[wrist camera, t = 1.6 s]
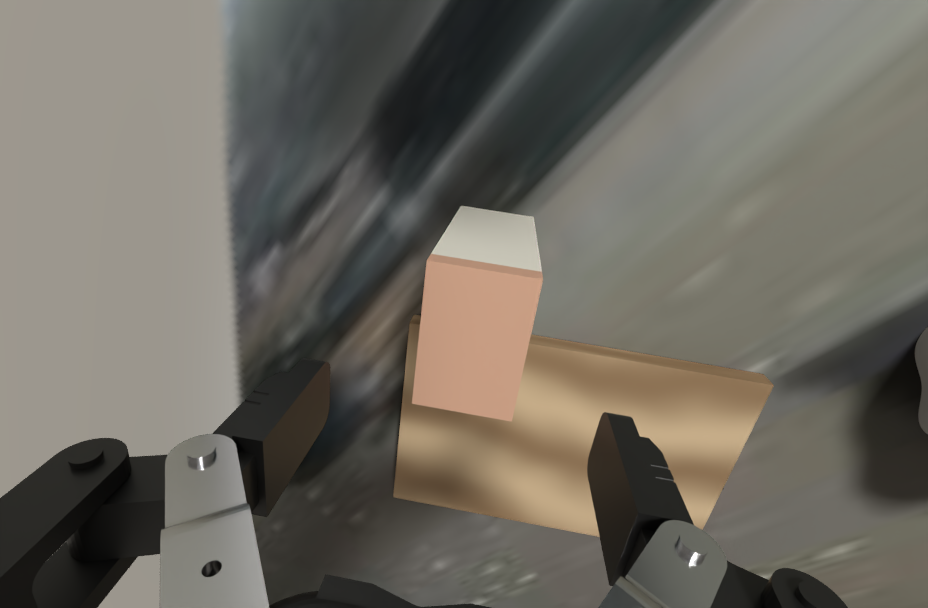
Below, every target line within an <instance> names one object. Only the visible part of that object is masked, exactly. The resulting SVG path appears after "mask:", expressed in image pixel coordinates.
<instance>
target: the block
mask: <svg viewBox="0 0 928 608" xmlns="http://www.w3.org/2000/svg"><path fill="white" fill-rule="evenodd" d="M542 282H543V276H542V269H541V263H540V256H539V250H538V243H537V236H536V230H535V223H534V217H530V216H523V215H517V214H511V213H504V212H498V211H492V210H485V209H479V208H472V207H466V206H461V207H460V208H459V210H458V211H457V213H456V215H455V216H454V218H453V219H452V221H451V223H450V224H449V226H448V227H447V229H446V231H445V232H444V234H443V235H442V237H441V239H440V240H439V242H438V243H437V245H436V247H435V248H434V250H433V251H432V253H431V255H430V256H429V258H428V259H427V263H426V273H425V282H424V292H423V302H422V311H421V321H420V330H419V340H418V349H417V359H416V368H415V378H414V388H413V397H412V404H417V405H422V406H428V407H433V408H439V409H444V410H450V411H455V412H461V413H466V414H472V415H478V416H483V417H489V418H494V419H500V420H505V421H511V422H512V419H513V414H514V409H515V405H516V400H517V396H518V391H519V387H520V382H521V378H522V373H523V368H524V364H525V359H526V355H527V350H528V346H529V341H530V337H531V332H532V328H533V323H534V318H535V314H536V309H537V305H538V300H539V296H540V291H541V287H542Z"/></svg>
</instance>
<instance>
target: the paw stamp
mask: <svg viewBox="0 0 928 608" xmlns="http://www.w3.org/2000/svg"><path fill="white" fill-rule="evenodd" d="M915 361H916V365H917V368H918V371H919V374H920V378H921V384H922V393H921V400H920V405H919V413H918V418H919V424H920V426H921V428H922V430H923V431H924V432H925V433H926V434H928V327H927V328H926V329H925V330H924V331H923V333H922V334H921V335H920V337H919V339H918V341H917V343H916V347H915Z"/></svg>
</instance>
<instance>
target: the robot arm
mask: <svg viewBox="0 0 928 608" xmlns="http://www.w3.org/2000/svg"><path fill="white" fill-rule="evenodd" d="M329 405H330V365H329V363H328V362H323V361H317V360H312V359H306V358H302V359H301V360H300V361H299V362H298V363H297V364H296V365H295V366H294V367H293V368H292V370H291V371H290V372H289V373H287V372H279V373H277V374H275V375H273V376H271V377H269V378H267V379H265V380H264V381H263V382H262V383H261V384H260V385H259V386H258V387H257V388H256V389H255V390H254V393H251V394H250V395H249V397H248V398H247V399H246V400H245V402H243V403H242V404H241V405H240V406H239V407H238V408H237V409H236V410H235V411H234V412H233V413H232V414H231V415H230V416H229V417H228V418H227V419H226V420H225V421H224V422H223V423H222V424H221V425H220V426H219V427H218V428H217V430H216V431H215V432H214V433H213V434H206V435H200V436H196V437H193V438H190V439H188V440H186V441H183V442H182V443H180V444H179V445H177V446H176V447H174V448H173V449H172V450H171V451H170V453H169V454H168V455H157V456H142V457H141V456H140V457H129V454H128V449H127V446H126V445H125V444H124V443H123V442H122V441H120V440H117V439H112V438H99V439H92V440H87V441H83V442H80V443H78V444H75V445H72V446H70V447H68V448H66V449H64V450H62V451H61V452H59V453H58V454H56V455H55V456H53V457H52V458H51V459H50V460H48V461H47V462H46V463H45V464H43V465H42V466H41V467H39V468H38V469H37V470H36V471H35V472H33V473H32V474H31V475H29V476H28V477H27V478H25V479H24V480H23V481H22V482H20V483H19V484H18V485H17V486H15V487H14V488H13V489H11V490H10V491H9V492H8V493H6V494H5V495H4V496H2V497H1V498H0V608H97V607H98V606H99V604H100V603H101V602H102V601H103V599H104V598H105V597H106V596H107V595H108V593H109V592H110V591H111V590H112V588H113V587H114V586H115V585H116V583H117V582H118V581H119V579H120V578H121V577H122V576H123V574H124V573H125V572H126V571H127V569H128V568H129V567H130V566H131V564H132V563H133V562H134V560H135V559H136V558H137V557H138V556H144V555H154V554H160V608H490V607H485V606H480V605H475V604H460V605H445V606H431V607H419V606H416V605H413V604H411V603H409V602H407V601H405V600H403V599H401V598H400V597H398V596H396V595H394V594H392V593H390V592H388V591H386V590H384V589H382V588H380V587H378V586H376V585H374V584H370V583H365V582H360V581H355V580H351V579H346V578H341V577H336V576H331V575H325V577H324V580H323V582H322V585H321V587H320V589H319V591H315V592H308V593H302V594H298V595H295V596H292V597H288V598H286V599H283V600H281V601H279V602H276V603H274V604H272V605H270V606H269V603H268V598H267V593H266V588H265V583H264V577H263V572H262V567H261V562H260V557H259V551H258V546H257V541H256V536H255V530H254V525H253V520H252V515H251V514H254V515H259V516H264V517H267V516H268V515H269V513H270V511H271V510H272V508H273V507H274V505H275V504H276V502H277V500H278V499H279V497H280V496H281V494H282V492H283V491H284V489H285V488H286V486H287V484H288V483H289V481H290V480H291V478H292V477H293V475H294V473H295V472H296V470H297V469H298V467H299V465H300V464H301V462H302V461H303V459H304V457H305V456H306V454H307V453H308V451H309V450H310V448H311V446H312V445H313V443H314V442H315V440H316V438H317V437H318V435H319V434H320V432H321V430H322V429H323V427H324V425H325V423H326V420H327V417H328V413H329ZM587 475H588V481H589V486H590V491H591V496H592V501H593V506H594V511H595V516H596V521H597V526H598V531H599V536H600V541H601V546H602V551H603V556H604V561H605V566H606V571H607V576H608V581H609V585H610V586H613V587H612V589H611V590H610V592H609V593H608V594H607V596H606V597H605V599H604V600H603V602H602V603H601V605H600V606H599V607H598V608H848V607H847V606H846V605H845V603H844V602H843V601H842V600H841V599H840V598H839V597H838V596H837V595H836V594H835V593H834V592H833V591H832V590H831V589H830V588H828V587H827V586H826V585H824V584H823V583H822V582H820V581H819V580H817V579H815V578H814V577H812V576H810V575H808V574H806V573H804V572H801V571H798V570H795V569H790V568H782V569H778V570H776V571H775V572H774V573H773V575H772V576H771V578H770V580H767V579H765V578H763V577H760V576H758V575H756V574H754V573H751V572H749V571H747V570H745V569H743V568H740V567H738V566H736V565H734V564H732V563H730V562H728V561H727V560H726V556H725V554H724V552H723V550H722V549H721V547H720V546H719V545H718V543H717V542H716V541H715V540H714V539H713V538H712V537H711V536H710V535H708V534H707V533H706V532H704V531H703V530H702V529H700V528H698V527H696V526H694V524H693V521H692V519H691V517H690V515H689V512H688V510H687V508H686V505H685V503H684V501H683V499H682V496H681V494H680V492H679V490H678V487H677V485H676V483H675V482H674V478H673V476H672V474H671V471H670V470H668V464H667V462H666V460H665V458H664V455H663V453H662V452H661V450H660V449H659V448H658V447H657V446H656V445H655V444H654V443H653V442H652V441H651V440H650V439H649V438H646V437H640V436H639V433H638V431H637V428H636V425H635V423H634V420H633V418H632V417H630V416H624V415H619V414H613V413H607V412H604V413H603V414H602V416H601V418H600V421H599V424H598V427H597V431H596V434H595V437H594V440H593V443H592V447H591V450H590V453H589V457H588V464H587ZM52 554H53V555H52Z"/></svg>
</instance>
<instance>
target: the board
mask: <svg viewBox="0 0 928 608" xmlns="http://www.w3.org/2000/svg"><path fill="white" fill-rule="evenodd" d="M420 321H421V316H419V315H413V317H412V319H411V321H410V324H409V334H408V345H407V356H406V366H405V377H404V388H403V398H402V409H401V420H400V431H399V441H398V452H397V463H396V473H395V484H394V495H393V497H395V498H400V499H405V500H410V501H416V502H421V503H426V504H431V505H436V506H442V507H447V508H452V509H457V510H463V511H468V512H473V513H478V514H483V515H489V516H494V517H499V518H504V519H510V520H515V521H520V522H525V523H530V524H536V525H541V526H546V527H551V528H557V529H562V530H567V531H572V532H577V533H583V534H588V535H593V536H598V537H600V536H599V531H598V526H597V521H596V516H595V511H594V506H593V501H592V496H591V491H590V486H589V481H588V475H587V464H588V457H589V453H590V450H591V447H592V443H593V440H594V437H595V434H596V431H597V427H598V424H599V421H600V418H601V416H602V414H603V413H604V412H607V413H613V414H619V415H624V416H630V417H632V418H633V420H634V423H635V425H636V428H637V431H638V433H639V436H640V437H646V438H649V439H650V440H651V441H652V442H653V443H654V444H655V445H656V446H657V447H658V448H659V449H660V450H661V452H662V453H663V455H664V458H665V460H666V462H667V464H668V470H670V471H671V474H672V476H673V478H674V482H675V483H676V485H677V487H678V490H679V492H680V494H681V496H682V499H683V501H684V503H685V505H686V508H687V510H688V512H689V515H690V517H691V519H692V521H693V524H694V526H696V527H698V528H700V529H703V527H704V525H705V523H706V521H707V519H708V517H709V515H710V513H711V511H712V509H713V507H714V505H715V503H716V501H717V499H718V497H719V495H720V493H721V491H722V489H723V487H724V485H725V483H726V481H727V479H728V477H729V475H730V473H731V471H732V469H733V467H734V465H735V463H736V461H737V459H738V457H739V455H740V453H741V451H742V449H743V447H744V445H745V443H746V441H747V439H748V437H749V435H750V433H751V431H752V429H753V427H754V425H755V423H756V421H757V419H758V417H759V415H760V413H761V411H762V409H763V407H764V404H765V402H766V400H767V398H768V396H769V394H770V392H771V390H772V388H773V386H774V385H773V384H772V383H771V382H770V381H769V380H768V379H767V378H766V377H765V375H764V374H760V373H754V372H748V371H742V370H736V369H730V368H724V367H719V366H713V365H707V364H701V363H695V362H689V361H683V360H678V359H672V358H666V357H660V356H654V355H648V354H642V353H636V352H631V351H625V350H619V349H613V348H607V347H601V346H595V345H590V344H584V343H578V342H572V341H566V340H560V339H554V338H548V337H543V336H537V335H531V337H530V341H529V346H528V350H527V355H526V359H525V364H524V368H523V373H522V378H521V382H520V387H519V391H518V396H517V400H516V405H515V409H514V414H513V419H512V422H511V421H505V420H500V419H494V418H489V417H483V416H478V415H472V414H466V413H461V412H455V411H450V410H444V409H439V408H433V407H428V406H422V405H417V404H412V397H413V388H414V378H415V368H416V359H417V349H418V340H419V330H420Z"/></svg>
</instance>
